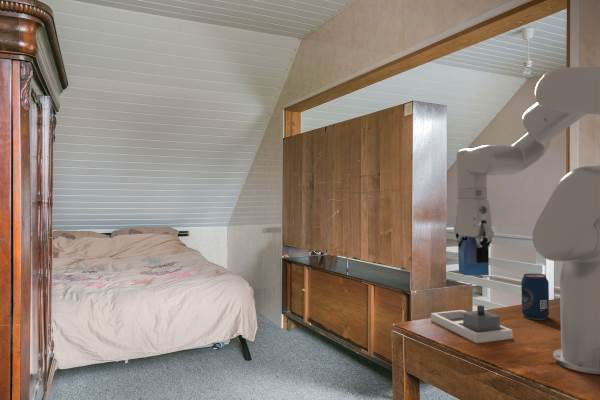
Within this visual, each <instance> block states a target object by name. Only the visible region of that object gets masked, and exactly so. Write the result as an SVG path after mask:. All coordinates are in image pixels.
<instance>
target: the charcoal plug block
mask: <svg viewBox="0 0 600 400" xmlns="http://www.w3.org/2000/svg"><path fill="white" fill-rule="evenodd" d="M476 306H477V310H473V311H467V312H463V326H464V327H466V328H468V329H470V330H473V331H475V332H477V333H479V332H488V331H496V330H500V325H501V321H500V315H497V314H495V313H492V312H489V311H486V310H485V306H484V305H476Z"/></svg>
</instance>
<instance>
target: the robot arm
mask: <svg viewBox="0 0 600 400" xmlns="http://www.w3.org/2000/svg"><path fill="white" fill-rule="evenodd" d="M534 97H535V101H536V102H535V103H534V104H533V105H532V106H530V107H529V108H528V109H527V110H525V112H524V113H523V115H522V118H521V123H522V126H523V127H524V129H525V131H526V133H525V134H524V135H523V136H522V137H521V138H520V139H518V140H517V141H516V142H514V143H513V144H511V145H510V144H509V145H507V144H506V145H505V144H486V145H485V144H484V145H480V146H477V147H474V148H473V147H471V148H462V149H460V150H458V151H457V152H456V194H457V195H456V198H457V199H456V200H457V204H456V214H455V216H456V217H455V223H456V224H455V226H454V227H453V232H454V234H455V238H456V243H457V245H458V247H457V248H458V249H459V247H460V245H461V244H462V242H463V240H467V237H472V238H475V239H476V242H477V245H478V247H476V258H477V263H487V262H488V263H489V261H490V260H489V257H490V256H489V248H490V247H491V242H492V241H493V238H494V236H495V232H494V231H493V225H492V224H493V222H492V221H493V220H492V214H491V206H490V202H489V199H488V178H487V177H488V176H500V175H501V176H503V175H507V176H508V175H509V176H510V175H516V174H519V173H521V172H523V171H525V170H526V169H528V168H529V167H531V166H532V165H533V164H535V163H536V162H538V161H539V160H540V159H542V157H543V156H544V155H545V154H546V153H547V151H548V149H549V147H550V145H551V142H552V140H554V138H555V137H557V136H559V135H560V134H561V133H563V132H564V131H565V130H567V129H569V128H570V127H571V126H572V125H573V124H575V123H576V122H578V121H579V120H580V119H582V118H583V117H585V116H586V115H588V114H590V115H600V66H581V67H580V66H576V67H575V66H573V67H572V66H571V67H570V66H569V67H568V66H562V67H561V66H560V67H555V68H553V69H551V70H549V71H547V72H546V73H545V74H543V75H542V77H541V78H540V79H539V80H538V81H537V83H536V86H535V89H534ZM466 236H467V237H466ZM532 242H533V243H532V244H533V247H534V249H535V251H536V252H537V253H538V254H539V255H540V256H541V257H542V258H544V259H546V260H548V261H553V262H562V265H561V268H560V276H559V301H560V302H559V303H560V304H559V305H560V307H559V308H560V311H559V312H560V347H561V348H560V349H556V350H554V351H553V353H552V356H553V359H555V360H556V361H555V363H556V364H558V365H560V366H562V367H564V368H566V369H568V370H573V371H575V372H581V373H585V374H592V375H600V164H598V165H586V166H579V167H577V168H575V169H572V170H570V171H569V172H568V173H567V174H566V175H564V176H563V177H562V178H561V179H560V180H559V182H558V183H557V185H556V186H555V189H554V190H553V192H552V193H551V194H550V197H549V198H548V201H547V202H546V204H545V206H544V208H543V209H542V211H541V213H540V215H539V216H538V219H537V220H536V222H535V225H534V228H533V231H532ZM458 249H457V250H458ZM457 255H458V258H459V253H458V254H457Z"/></svg>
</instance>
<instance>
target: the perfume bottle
mask: <svg viewBox="0 0 600 400" xmlns="http://www.w3.org/2000/svg"><path fill="white" fill-rule="evenodd" d="M466 237H467V236H466ZM476 247H478V245H477V242H476V239H475V238H472V237H467V240H463V242H462V244H461V245H460V247H459V249H457V250H458V251H457V252H458V253H459V257H458V272H459V273H461V275H463V276H489V273H490V272H489V271H490V270H489V262H487V263H477V258H476Z"/></svg>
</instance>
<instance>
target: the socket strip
mask: <svg viewBox="0 0 600 400" xmlns="http://www.w3.org/2000/svg"><path fill="white" fill-rule="evenodd" d="M463 312H468V311H466V310H464V309H459V310H458V309H457V310H449V311H448V310H447V311H439V312H431V313H430V321H431V322H433V323H435V324H437V325H439V326H442V327H443V328H445V329H447V330H448V331H451V332H453V333H455V334H457V335H459V336H462V337H463V338H466V339H467V340H469V341H471V342H474V343H475V344H480V343H487V342H488V343H489V342H495V341H503V340H510V339H511V340H513V339H514V334H513V329H511V328H509V327H506V326H504V325H501V324H500V330H496V331H488V332H479V333H477V332H475V331H473V330H470V329H468V328H466V327H464V326H463Z"/></svg>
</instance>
